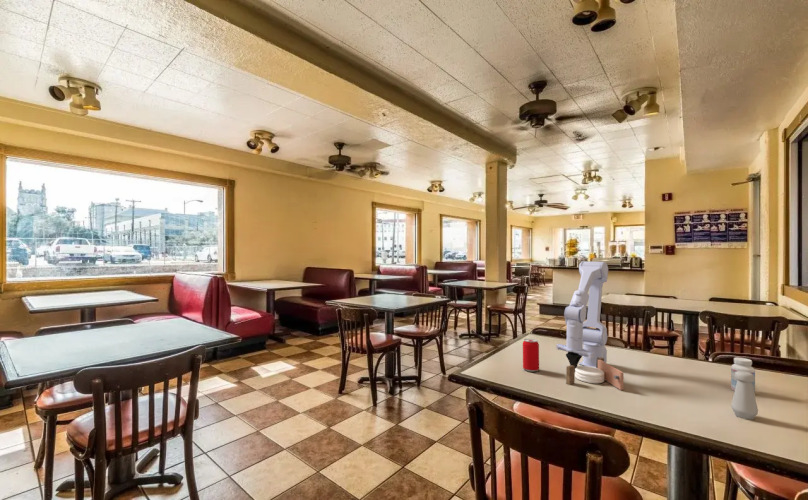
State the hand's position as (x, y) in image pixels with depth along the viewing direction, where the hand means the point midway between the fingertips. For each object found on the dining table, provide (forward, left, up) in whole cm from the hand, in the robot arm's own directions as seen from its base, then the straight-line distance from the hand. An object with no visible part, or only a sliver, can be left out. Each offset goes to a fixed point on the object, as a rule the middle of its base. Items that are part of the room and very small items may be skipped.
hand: (573, 372), depth 138 cm
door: (-4, +11, -1) cm, 12 cm away
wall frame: (0, +5, -1) cm, 5 cm away
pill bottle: (-36, +40, -2) cm, 54 cm away
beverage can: (+10, -12, -1) cm, 16 cm away
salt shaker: (-11, +47, -2) cm, 48 cm away
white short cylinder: (-1, +5, -1) cm, 6 cm away
